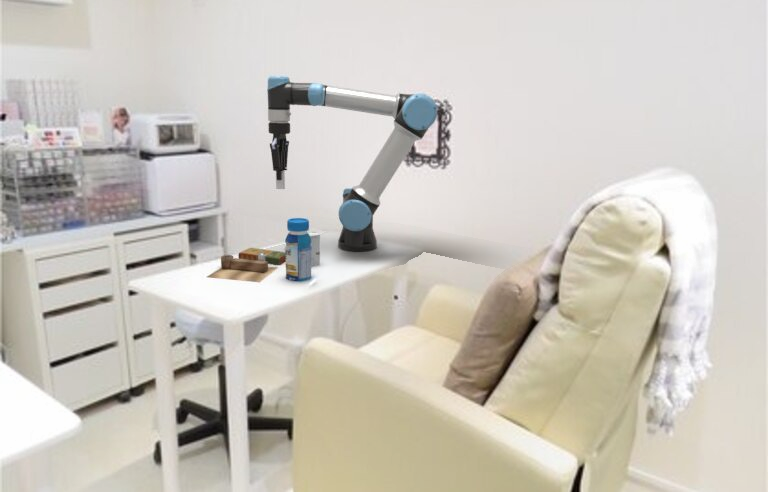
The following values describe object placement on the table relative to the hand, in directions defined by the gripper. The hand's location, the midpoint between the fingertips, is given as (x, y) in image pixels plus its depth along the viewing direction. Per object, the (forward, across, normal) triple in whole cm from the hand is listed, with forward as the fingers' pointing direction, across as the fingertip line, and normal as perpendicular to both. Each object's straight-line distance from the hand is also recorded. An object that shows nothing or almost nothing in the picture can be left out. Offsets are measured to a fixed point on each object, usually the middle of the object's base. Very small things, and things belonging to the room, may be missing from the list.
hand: (280, 188), depth 212 cm
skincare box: (+25, -14, -16) cm, 32 cm away
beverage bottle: (+25, -28, -16) cm, 41 cm away
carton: (+25, -12, +2) cm, 28 cm away
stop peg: (+23, -22, -2) cm, 32 cm away
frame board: (+24, -28, +2) cm, 37 cm away
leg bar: (+23, -25, +4) cm, 34 cm away
